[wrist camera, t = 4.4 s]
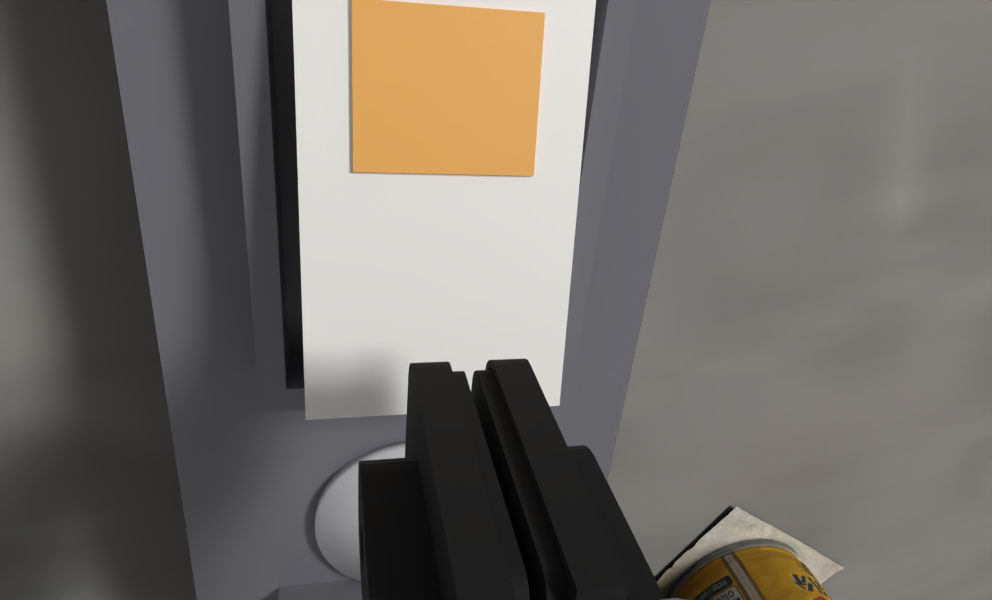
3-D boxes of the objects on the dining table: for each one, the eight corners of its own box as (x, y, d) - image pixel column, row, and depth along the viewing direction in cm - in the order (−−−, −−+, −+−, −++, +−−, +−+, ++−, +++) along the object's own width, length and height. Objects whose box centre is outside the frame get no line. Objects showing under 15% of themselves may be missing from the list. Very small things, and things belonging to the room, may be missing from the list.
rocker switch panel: (516, 665, 27) (553, 811, 23) (243, 704, 25) (227, 875, 21) (705, -491, 13) (914, -708, 8) (83, -654, 10) (-97, -1078, 6)
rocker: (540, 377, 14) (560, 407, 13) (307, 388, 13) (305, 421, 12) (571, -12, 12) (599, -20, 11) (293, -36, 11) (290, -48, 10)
